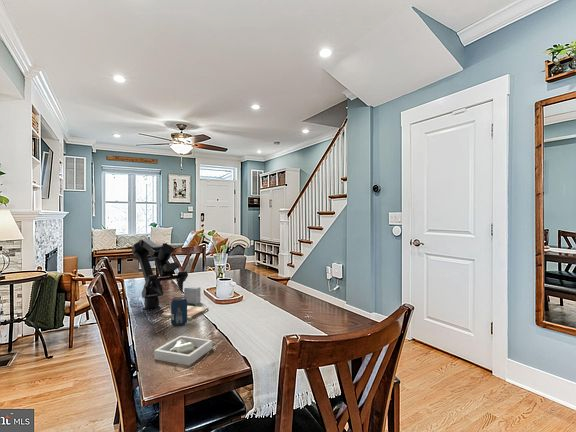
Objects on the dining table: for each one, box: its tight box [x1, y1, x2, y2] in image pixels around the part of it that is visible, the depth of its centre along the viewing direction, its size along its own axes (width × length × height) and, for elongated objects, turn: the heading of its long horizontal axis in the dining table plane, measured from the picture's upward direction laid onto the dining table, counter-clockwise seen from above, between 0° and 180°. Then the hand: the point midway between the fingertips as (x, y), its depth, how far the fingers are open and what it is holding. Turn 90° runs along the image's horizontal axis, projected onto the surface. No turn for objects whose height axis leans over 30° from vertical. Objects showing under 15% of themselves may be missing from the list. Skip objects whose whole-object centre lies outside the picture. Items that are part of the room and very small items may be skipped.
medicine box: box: [183, 286, 202, 305], centre depth 177 cm, size 8×4×9 cm, turn 74°
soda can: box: [170, 296, 188, 328], centre depth 142 cm, size 7×7×12 cm
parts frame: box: [153, 335, 213, 366], centre depth 113 cm, size 14×14×3 cm
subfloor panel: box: [161, 305, 209, 321], centre depth 159 cm, size 16×16×1 cm
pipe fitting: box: [170, 339, 195, 354], centre depth 113 cm, size 8×4×7 cm
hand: (172, 293), depth 147 cm, fingers open, 9 cm apart
